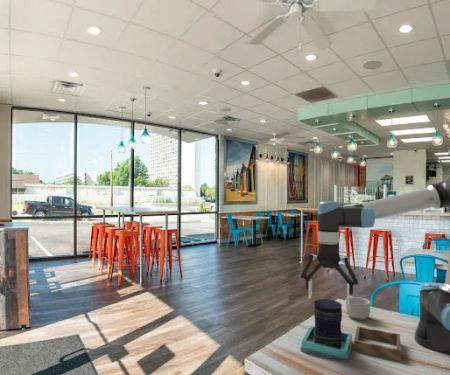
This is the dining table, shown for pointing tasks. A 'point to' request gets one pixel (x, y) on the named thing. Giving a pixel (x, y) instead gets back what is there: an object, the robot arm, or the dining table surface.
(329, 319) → the navy oil drum
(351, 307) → the teacup
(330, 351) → the teal square tray
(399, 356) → the walnut holder
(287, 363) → the dining table surface
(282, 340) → the dining table surface
